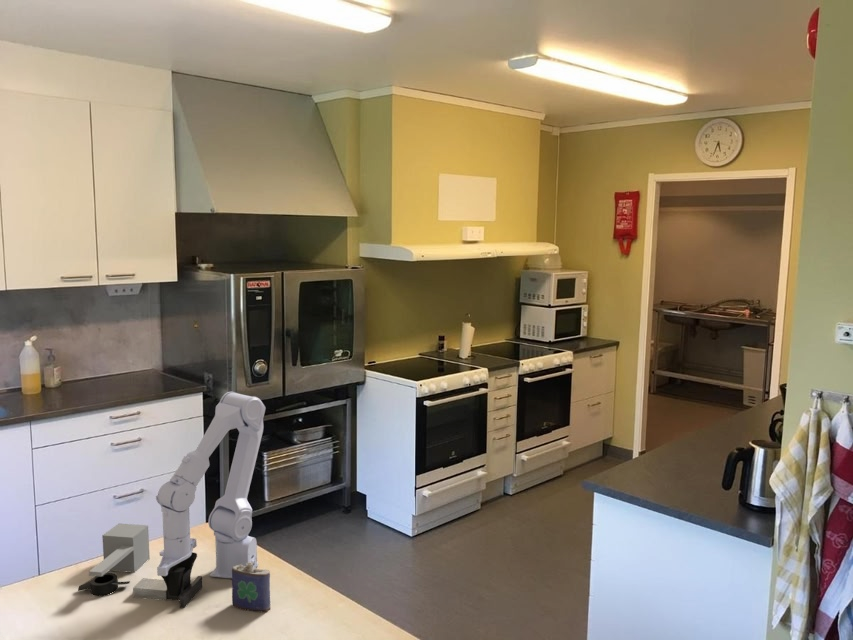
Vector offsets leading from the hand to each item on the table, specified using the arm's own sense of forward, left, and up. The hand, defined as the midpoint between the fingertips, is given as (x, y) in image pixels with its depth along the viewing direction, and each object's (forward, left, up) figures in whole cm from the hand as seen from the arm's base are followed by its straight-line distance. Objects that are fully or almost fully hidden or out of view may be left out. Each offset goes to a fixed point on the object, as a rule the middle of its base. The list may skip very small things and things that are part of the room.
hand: (179, 590), depth 158 cm
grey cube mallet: (+20, -5, -1) cm, 21 cm away
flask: (-18, +2, -2) cm, 18 cm away
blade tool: (+3, 0, -1) cm, 4 cm away
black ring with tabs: (+18, 0, -2) cm, 19 cm away
